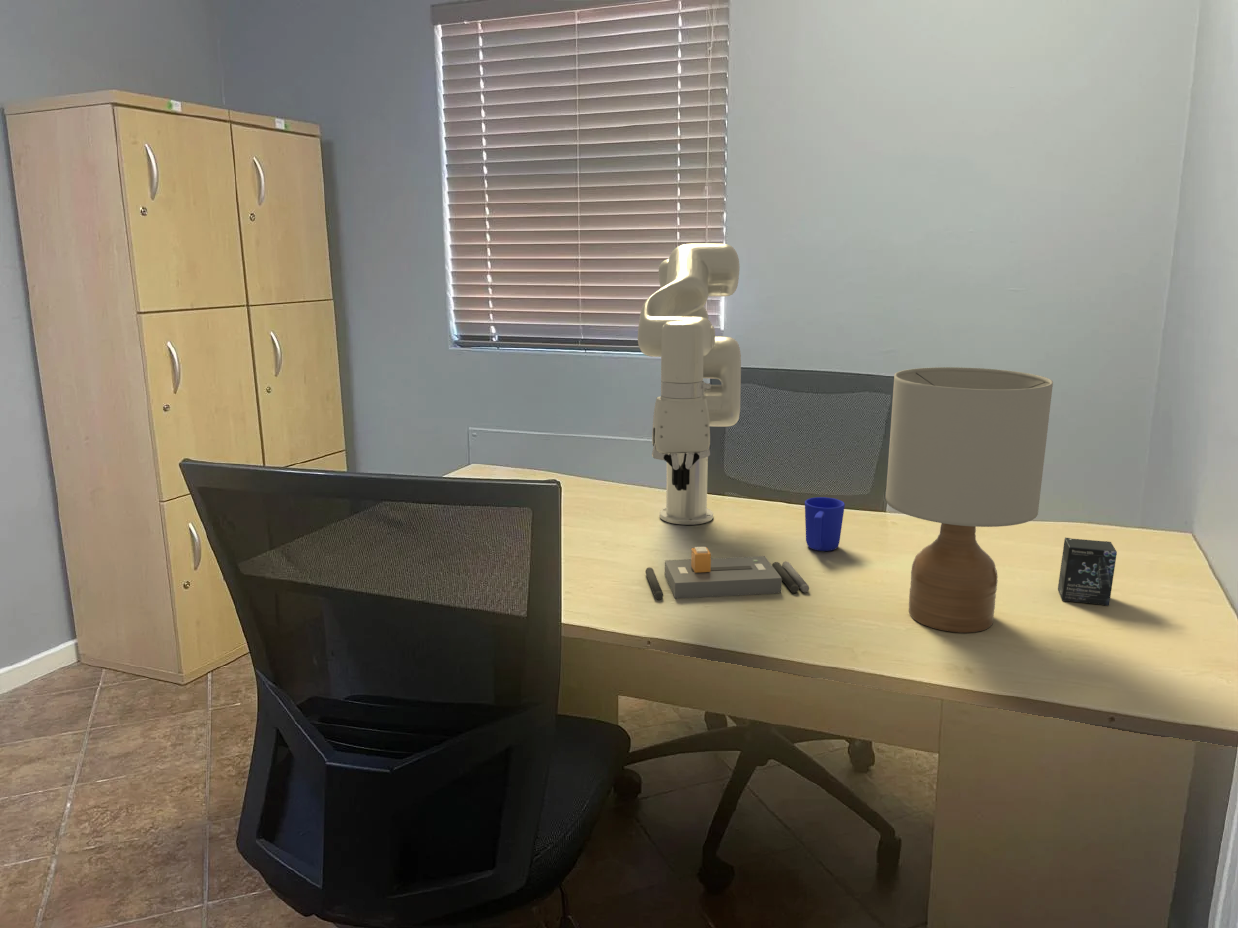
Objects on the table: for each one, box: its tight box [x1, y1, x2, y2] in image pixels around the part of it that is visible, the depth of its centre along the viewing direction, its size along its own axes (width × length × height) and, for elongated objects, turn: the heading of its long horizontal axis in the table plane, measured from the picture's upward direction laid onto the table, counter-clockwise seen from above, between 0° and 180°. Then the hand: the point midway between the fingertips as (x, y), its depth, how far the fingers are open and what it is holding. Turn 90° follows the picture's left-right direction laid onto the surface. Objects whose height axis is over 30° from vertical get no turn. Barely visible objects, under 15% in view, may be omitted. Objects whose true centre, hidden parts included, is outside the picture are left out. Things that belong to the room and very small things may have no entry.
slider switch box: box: [664, 555, 783, 599], centre depth 172 cm, size 12×20×3 cm, turn 96°
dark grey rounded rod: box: [645, 567, 664, 600], centre depth 171 cm, size 14×2×2 cm, turn 6°
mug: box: [804, 496, 846, 552], centre depth 189 cm, size 8×12×10 cm
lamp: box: [885, 366, 1054, 634], centre depth 152 cm, size 24×24×42 cm
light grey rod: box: [781, 560, 810, 593], centre depth 174 cm, size 14×2×2 cm, turn 6°
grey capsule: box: [771, 561, 800, 594], centre depth 174 cm, size 14×2×2 cm, turn 6°
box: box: [1057, 537, 1118, 607], centre depth 163 cm, size 8×6×11 cm
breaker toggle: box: [690, 546, 712, 573], centre depth 171 cm, size 4×3×4 cm
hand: (680, 488), depth 167 cm, fingers closed
